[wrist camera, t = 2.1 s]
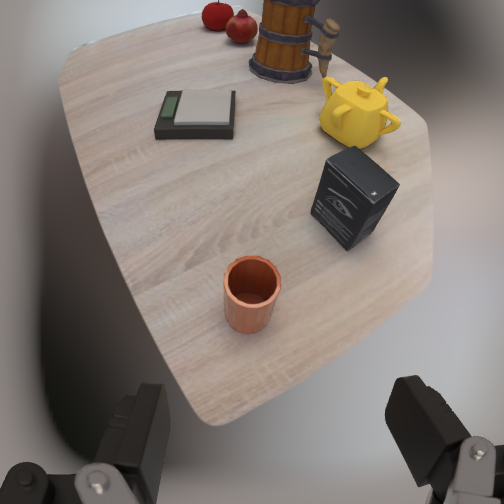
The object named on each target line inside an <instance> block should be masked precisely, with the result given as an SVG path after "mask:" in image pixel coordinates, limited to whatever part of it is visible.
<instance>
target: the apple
mask: <svg viewBox="0 0 504 504" xmlns="http://www.w3.org/2000/svg"><path fill="white" fill-rule="evenodd" d="M233 16H234V13H233V9H232V8H231V6H229V5H228V4H224V3H219V0H218V2H213V3H210V4H208V5H207V6H205V8H204V10H203V11H202V21H203V23H204V25H205V26H206V27H207V28H208V29H211V30H214V31H219V30H224V29H226V25H227V23H228V21H229V20H230V19H231V18H232V17H233Z"/></svg>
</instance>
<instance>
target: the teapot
mask: <svg viewBox="0 0 504 504" xmlns="http://www.w3.org/2000/svg"><path fill="white" fill-rule="evenodd" d="M387 81H388V78H386V77H383V78H381V79H380V81H379V82H378V83H377V85H376V86H375V87H374V89H373V88H372V87H370V86H368V85H366V84H365V83H362V82H360V81H351V82H347V83H345V84H343V85H342V84H340V83H339V82H338V81H336V80H335V79H333V78H331V77H325V78H323V81H322V85H323V90H324V93H325V95H326V98H327V102H326V103H325V105H324V107H323V109H322V112H321V114H320V118H319V121H320V125H321V127H322V129H323V130H324V131H325V132H326V133H328V134H329V135H331V136H332V137H333V138H335V139H336V140H338V141H339V142H341V143H343V144H344V145H346V146H348V147H352V146H357V147H358V148H359V149H361V148H364V147H366V146H368V145H370V144H371V143H373V142H374V141H376V140H377V139H378V138H379V137H380V135H382V134H386V133H390V132H393V131H395V130H397V129H398V128H399V127H400V125H401V122H400V120H399V119H398V118H397V117H396V116H394V115H393V114H391V113H389V112H388V99H387V97H386V96H384V95H383V94H382V93H383V89H384V86H385V84H386V83H387ZM331 84H332V85H333V86H335V87H336V88H337V89H336V90H335V91H334V92H333V94H332V92H331ZM387 118H388V119H389V120H390V121H391V124H390V125H388V126H387V127H385V125H386V121H387Z"/></svg>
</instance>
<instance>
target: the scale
mask: <svg viewBox="0 0 504 504" xmlns="http://www.w3.org/2000/svg"><path fill="white" fill-rule="evenodd" d="M234 110H235V91H232V90H183V91H167V93H166V96H165V98H164V101H163V104H162V107H161V110H160V113H159V116H158V119H157V122H156V125H155V128H154V133H155V138H156V140H157V139H233V127H234Z"/></svg>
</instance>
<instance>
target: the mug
mask: <svg viewBox="0 0 504 504" xmlns="http://www.w3.org/2000/svg"><path fill="white" fill-rule="evenodd" d="M319 1H320V0H264V4H263V15H262V22H261V23H260V25H259V37H258V42H257V47H256V52H255V53H254V54H253V58H252V59H250V60H249V67H250V71H251V72H253V73H254V74H255V75H257V76H258V77H259V78H262V79H266V80H269V81H272V82H275V83H291V84H293V83H298V82H302V81H306V80H307V79H308V78H309V77H310V76H311V75H312V71H311V68H312V64H311V63H310V62H309V55H312V56H316V57H317V58H318V60H319V68H320V72H321V75H322V77H323V78H325V77H326V74H327V69H328V64H329V61H330V60H331V58H332V54H331V51H332V47H333V44H334V42H335V39H336V38H337V37H338V34H339V30H340V27H339V25H338V24H337V23H336V22H335V21H333V20H332V19H327V20H326V22H325V25H323V24H322V23H320V22H318V21H317V20H316V19H314V18H313V16H314V10H315V5H317V4H318V2H319ZM312 24H313V25H314V26H316V27H317V28H319V29H320V30H321V35H320V41H319V45H318V52H317V51H313V50H310V40H311V37H312V31H311V27H312Z"/></svg>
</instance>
